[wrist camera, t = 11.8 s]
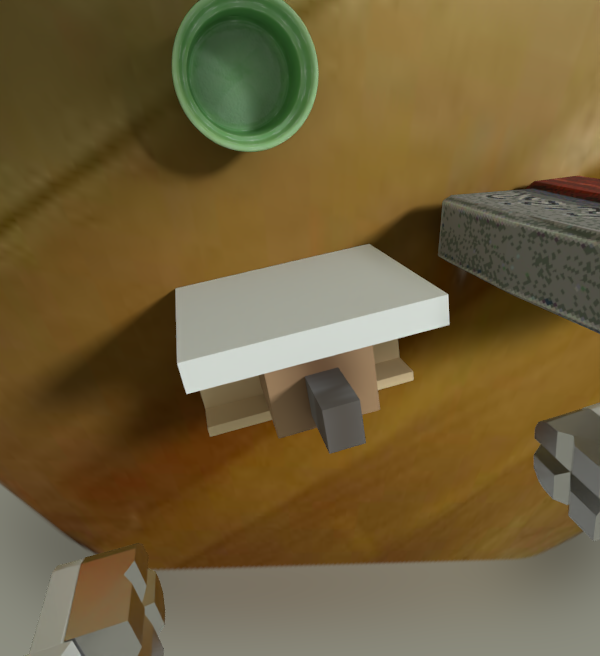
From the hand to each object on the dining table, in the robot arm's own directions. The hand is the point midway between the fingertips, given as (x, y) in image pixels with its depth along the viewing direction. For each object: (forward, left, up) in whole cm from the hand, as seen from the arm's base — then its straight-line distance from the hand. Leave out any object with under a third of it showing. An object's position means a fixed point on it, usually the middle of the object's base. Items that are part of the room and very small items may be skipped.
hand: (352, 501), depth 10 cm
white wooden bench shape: (-3, +9, -30) cm, 32 cm away
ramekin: (-3, -9, -31) cm, 32 cm away
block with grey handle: (-3, +10, -26) cm, 28 cm away
